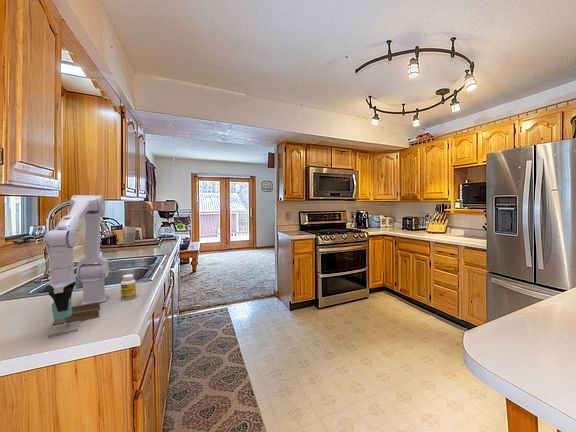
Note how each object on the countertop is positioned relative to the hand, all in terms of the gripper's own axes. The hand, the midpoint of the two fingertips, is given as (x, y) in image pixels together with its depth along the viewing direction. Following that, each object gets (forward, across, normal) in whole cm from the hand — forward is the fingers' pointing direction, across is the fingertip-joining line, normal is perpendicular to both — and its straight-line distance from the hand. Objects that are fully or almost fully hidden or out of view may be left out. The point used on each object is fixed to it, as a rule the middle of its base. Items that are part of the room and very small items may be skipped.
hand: (64, 308), depth 81 cm
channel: (+7, -8, +4) cm, 12 cm away
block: (+2, 0, 0) cm, 3 cm away
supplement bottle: (+7, -20, +18) cm, 28 cm away
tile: (+7, 0, 0) cm, 7 cm away
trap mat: (+7, -8, -2) cm, 11 cm away
